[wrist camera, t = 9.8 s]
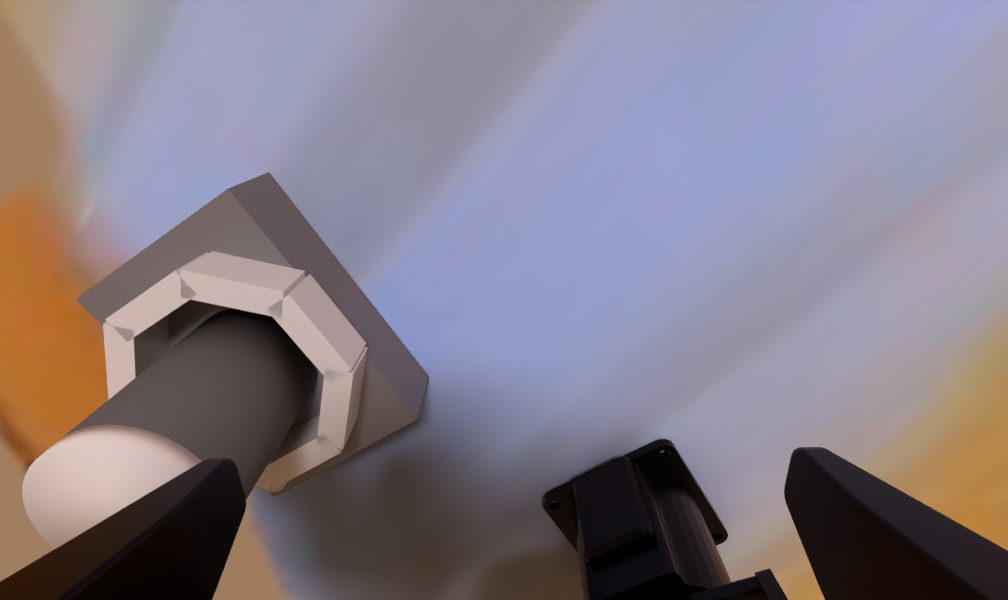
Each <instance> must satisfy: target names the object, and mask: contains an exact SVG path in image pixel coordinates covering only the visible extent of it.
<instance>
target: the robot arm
mask: <svg viewBox="0 0 1008 600" xmlns="http://www.w3.org/2000/svg"><path fill="white" fill-rule="evenodd" d="M663 450H668V451H667V452H666V453H660V452H661V451H663ZM784 494H785V500H786V504H787V507H788V509H789V512H790V514H791V517H792V519H793V522H794V524H795V527H796V529H797V532H798V534H799V537H800V539H801V542H802V544H803V547H804V549H805V552H806V554H807V557H808V559H809V562H810V564H811V567H812V569H813V572H814V574H815V577H816V579H817V582H818V584H819V586H820V589H821V591H822V593H823V596H824V598H825V600H1008V551H1007V550H1006V549H1004V548H1002V547H1000V546H998V545H997V544H995V543H993V542H991V541H990V540H988V539H986V538H984V537H982V536H981V535H979V534H977V533H975V532H973V531H972V530H970V529H968V528H966V527H965V526H963V525H961V524H959V523H957V522H956V521H954V520H952V519H950V518H948V517H947V516H945V515H943V514H941V513H940V512H938V511H936V510H934V509H932V508H931V507H929V506H927V505H925V504H923V503H922V502H920V501H918V500H916V499H914V498H913V497H911V496H909V495H907V494H906V493H904V492H902V491H900V490H898V489H897V488H895V487H893V486H891V485H889V484H888V483H886V482H884V481H882V480H881V479H879V478H877V477H875V476H873V475H872V474H870V473H868V472H866V471H864V470H863V469H861V468H859V467H857V466H856V465H854V464H852V463H850V462H848V461H847V460H845V459H843V458H841V457H839V456H838V455H836V454H834V453H832V452H831V451H829V450H827V449H825V448H822V447H800V448H797V449H795V450H794V451H793V453H792V455H791V459H790V464H789V469H788V473H787V478H786V483H785V489H784ZM553 501H556V502H557V503H551V502H553ZM543 504H544V509H545V510H546V512H547V513H548V514H549V516H550V517H551V518H552V520H553V521H554V522H555V523H556V525H557V526H558V527H559V529H560V530H561V531H562V532H563V534H564V535H565V536H566V538H567V539H568V540H569V542H570V543H571V544H572V545H573V547H574V548H575V549H576V551H577V552H578V555H579V563H580V570H581V578H582V585H583V593H584V600H788V599H787V597H786V595H785V594H784V592H783V590H782V589H781V587H780V585H779V583H778V582H777V580H776V578H775V577H774V575H773V573H772V571H771V570H770V569H766V570H763V571H759V572H756V573H755V576H753V577H749V578H745V579H742V580H738V581H735V582H731V580H730V578H729V576H728V573H727V571H726V569H725V566H724V564H723V562H722V559H721V557H720V555H719V552H718V550H717V548H716V545H718V544H721V543H723V542H724V541H725V540H726V539H727V537H728V534H727V531H726V529H725V527H724V525H723V523H722V522H721V520H720V518H719V517H718V515H717V514H716V512H715V510H714V509H713V507H712V506H711V504H710V502H709V501H708V499H707V497H706V496H705V494H704V493H703V491H702V489H701V488H700V486H699V484H698V483H697V481H696V480H695V478H694V476H693V475H692V473H691V472H690V470H689V468H688V467H687V465H686V463H685V462H684V460H683V459H682V457H681V455H680V454H679V452H678V450H677V449H676V447H675V446H674V444H673V443H672V442H671V441H669V440H666V439H662V440H658V441H656V442H654V443H652V444H650V445H647V446H645V447H643V448H641V449H639V450H637V451H635V452H633V453H630V454H628V455H626V456H624V457H622V458H620V459H618V460H615V461H613V462H611V463H609V464H607V465H605V466H603V467H601V468H598V469H596V470H594V471H592V472H590V473H588V474H586V475H583V476H581V477H579V478H577V479H575V480H573V481H571V482H569V483H566V484H564V485H562V486H560V487H558V488H556V489H554V490H552V491H549V492H548V493H546V494H545V496H544V497H543ZM245 508H246V496H245V492H244V488H243V485H242V481H241V478H240V475H239V471H238V468H237V465H236V463H235V462H234V460H232V459H230V458H210V459H206V460H203V461H202V462H200V463H198V464H197V465H195V466H193V467H192V468H190V469H188V470H187V471H185V472H183V473H181V474H180V475H178V476H176V477H175V478H173V479H171V480H170V481H168V482H166V483H165V484H163V485H161V486H160V487H158V488H156V489H155V490H153V491H151V492H150V493H148V494H146V495H145V496H143V497H141V498H140V499H138V500H136V501H135V502H133V503H131V504H130V505H128V506H126V507H125V508H123V509H121V510H120V511H118V512H116V513H115V514H113V515H111V516H110V517H108V518H106V519H105V520H103V521H101V522H99V523H98V524H96V525H94V526H93V527H91V528H89V529H88V530H86V531H84V532H83V533H81V534H79V535H78V536H76V537H74V538H73V539H71V540H69V541H68V542H66V543H64V544H63V545H61V546H59V547H58V548H56V549H54V550H53V551H51V552H49V553H48V554H46V555H44V556H43V557H41V558H39V559H38V560H36V561H34V562H33V563H31V564H29V565H28V566H26V567H24V568H23V569H21V570H19V571H18V572H16V573H14V574H13V575H11V576H9V577H7V578H6V579H4V580H2V581H1V582H0V600H212V598H213V596H214V593H215V591H216V588H217V586H218V583H219V580H220V577H221V575H222V572H223V570H224V567H225V564H226V561H227V559H228V556H229V553H230V551H231V548H232V545H233V542H234V540H235V537H236V534H237V531H238V529H239V526H240V523H241V521H242V518H243V515H244V512H245ZM716 532H717V533H716ZM714 533H715V534H714Z"/></svg>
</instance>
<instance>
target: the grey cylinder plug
mask: <svg viewBox="0 0 1008 600" xmlns="http://www.w3.org/2000/svg"><path fill="white" fill-rule="evenodd" d="M316 382H317V367H316V366H315V365H314V364H313V363H312V362H311V360H310V359H309V358H308V357H307V356H306V355H305V354H304V352H303V351H302V350H301V349H300V348H299V347H298V346H297V344H296V343H295V342H294V341H293V340H292V339H291V337H290V336H289V335H288V334H287V333H286V332H285V331H284V329H283V328H282V327H281V326H280V325H279V324H278V322H277V321H276V320H275V319H274V318H273V317H272V316H268V315H263V314H258V313H253V312H248V311H244V310H239V309H234V308H231V309H227V310H223V311H220V312H218V313H216V314H214V315H212V316H210V317H209V318H208V319H207V320H205V321H204V322H203V323H202V324H200V325H199V326H198V327H197V328H196V329H194V330H193V331H192V332H191V333H189V334H188V335H187V336H186V337H185V338H183V339H182V340H181V341H180V342H178V343H177V344H176V345H175V346H174V347H172V348H171V349H170V350H169V351H168V352H166V353H165V354H164V355H163V356H161V357H160V358H159V359H158V360H157V361H155V362H154V363H153V364H152V365H150V366H149V367H148V368H147V369H146V370H144V371H143V372H142V373H141V374H140V375H138V376H137V377H136V378H135V379H133V380H132V381H131V382H130V383H129V384H127V385H126V386H125V387H124V388H123V389H121V390H120V391H119V392H118V393H116V394H115V395H114V396H113V397H112V398H110V399H109V400H108V401H107V402H105V403H104V404H103V405H102V406H101V407H99V408H98V409H97V410H96V411H95V412H93V413H92V414H91V415H90V416H88V417H87V418H86V419H85V420H84V421H82V422H81V423H80V424H79V425H77V426H76V427H75V428H74V429H73V430H71V431H70V432H69V433H68V434H67V435H65V436H64V437H63V438H62V439H60V440H59V441H58V442H57V443H56V444H54V445H53V446H52V447H51V448H49V449H48V450H47V451H46V452H45V453H43V454H42V455H41V456H40V457H39V458H37V459H36V460H35V461H34V462H33V464H32V465H31V466H30V467H29V469H28V471H27V473H26V475H25V478H24V481H23V488H22V494H23V503H24V506H25V509H26V512H27V514H28V517H29V519H30V521H31V522H32V524H33V526H34V527H35V528H36V530H37V531H38V533H39V534H40V535H41V536H42V537H43V539H44V540H46V542H47V543H48V544H49V545H51V547H53V548H54V549H56V548H58V547H59V546H61V545H63V544H64V543H66V542H68V541H69V540H71V539H73V538H74V537H76V536H78V535H79V534H81V533H83V532H84V531H86V530H88V529H89V528H91V527H93V526H94V525H96V524H98V523H99V522H101V521H103V520H105V519H106V518H108V517H110V516H111V515H113V514H115V513H116V512H118V511H120V510H121V509H123V508H125V507H126V506H128V505H130V504H131V503H133V502H135V501H136V500H138V499H140V498H141V497H143V496H145V495H146V494H148V493H150V492H151V491H153V490H155V489H156V488H158V487H160V486H161V485H163V484H165V483H166V482H168V481H170V480H171V479H173V478H175V477H176V476H178V475H180V474H181V473H183V472H185V471H187V470H188V469H190V468H192V467H193V466H195V465H197V464H198V463H200V462H202V461H203V460H206V459H210V458H230V459H232V460H234V462H235V463H236V465H237V468H238V471H239V475H240V478H241V481H242V485H243V488H244V492H245V496H246V499H247V497H248V495H249V494H250V492H251V491H252V489H253V487H254V486H255V484H256V483H257V481H258V479H259V478H260V476H261V475H262V473H263V471H264V470H265V468H266V467H267V465H268V463H269V462H270V460H271V459H272V457H273V455H274V454H275V452H276V450H277V449H278V447H279V446H280V444H281V442H282V441H283V439H284V438H285V436H286V434H287V433H288V431H289V430H290V428H291V426H292V425H293V423H294V422H295V420H296V418H297V417H298V415H299V413H300V412H301V410H302V409H303V407H304V405H305V404H306V402H307V401H308V399H309V397H310V396H311V394H312V392H313V390H314V388H315V385H316Z"/></svg>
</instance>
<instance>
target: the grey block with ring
mask: <svg viewBox="0 0 1008 600" xmlns="http://www.w3.org/2000/svg"><path fill="white" fill-rule="evenodd" d="M76 300H77V301H78V302H79V303H80V304H81V305H82V306H83V307H84V308H85V309H86V310H87V311H88V312H89V313H90V314H91V315H92V316H94V317H95V318H96V319H97V320H98V321H99V322H100V323H101V324H102V325H103V330H104V343H105V357H106V371H107V384H108V398H109V399H110V398H112V397H113V396H114V395H115V394H116V393H118V392H119V391H120V390H121V389H123V388H124V387H125V386H126V385H127V384H129V383H130V382H131V381H132V380H133V379H135V378H136V377H137V376H138V375H140V374H141V373H142V372H143V371H144V370H146V369H147V368H148V367H149V366H150V365H152V364H153V363H154V362H155V361H157V360H158V359H159V358H160V357H161V356H163V355H164V354H165V353H166V352H168V351H169V350H170V349H171V348H172V347H174V346H175V345H176V344H177V343H178V342H180V341H181V340H182V339H183V338H185V337H186V336H187V335H188V334H189V333H191V332H192V331H193V330H194V329H196V328H197V327H198V326H199V325H200V324H202V323H203V322H204V321H205V320H207V319H208V318H209V317H210V316H212V315H214V314H216V313H218V312H220V311H223V310H227V309H231V308H234V309H239V310H244V311H248V312H253V313H258V314H263V315H268V316H272V317H273V318H274V319H275V320H276V321H277V322H278V324H279V325H280V326H281V327H282V328H283V329H284V331H285V332H286V333H287V334H288V335H289V336H290V337H291V339H292V340H293V341H294V342H295V343H296V344H297V346H298V347H299V348H300V349H301V350H302V351H303V352H304V354H305V355H306V356H307V357H308V358H309V359H310V360H311V362H312V363H313V364H314V365H315V366H316V367H317V382H316V385H315V388H314V390H313V392H312V394H311V396H310V397H309V399H308V401H307V402H306V404H305V405H304V407H303V409H302V410H301V412H300V413H299V415H298V417H297V418H296V420H295V422H294V423H293V425H292V426H291V428H290V430H289V431H288V433H287V434H286V436H285V438H284V439H283V441H282V442H281V444H280V446H279V447H278V449H277V450H276V452H275V454H274V455H273V457H272V459H271V460H270V462H269V463H268V465H267V467H266V468H265V470H264V471H263V473H262V475H261V476H260V478H259V479H258V481H257V483H256V484H255V486H254V487H259V488H261V489H263V490H265V491H269V492H271V493H272V494H273V495H274V496H276V495H278V494H280V493H282V492H283V491H285V490H287V489H289V488H291V487H293V486H295V485H296V484H298V483H300V482H302V481H304V480H306V479H308V478H310V477H311V476H313V475H315V474H317V473H319V472H321V471H323V470H324V469H326V468H328V467H330V466H332V465H334V464H336V463H337V462H339V461H341V460H343V459H345V458H347V457H349V456H350V455H352V454H354V453H356V452H358V451H360V450H362V449H364V448H365V447H367V446H369V445H371V444H373V443H375V442H377V441H378V440H380V439H382V438H384V437H386V436H388V435H390V434H391V433H393V432H395V431H397V430H399V429H401V428H403V427H404V426H406V425H408V424H410V423H412V422H414V421H416V420H417V419H418V415H419V412H420V408H421V405H422V401H423V397H424V394H425V390H426V387H427V383H428V380H429V376H428V375H427V374H426V372H425V371H424V370H423V369H422V367H421V366H420V365H419V363H418V362H417V361H416V360H415V358H414V357H413V356H412V355H411V353H410V352H409V351H408V349H407V348H406V347H405V346H404V344H403V343H402V342H401V340H400V339H399V338H398V337H397V335H396V334H395V333H394V332H393V330H392V329H391V328H390V326H389V325H388V324H387V323H386V321H385V320H384V319H383V318H382V316H381V315H380V314H379V312H378V311H377V310H376V309H375V307H374V306H373V305H372V303H371V302H370V301H369V300H368V298H367V297H366V296H365V295H364V293H363V292H362V291H361V289H360V288H359V287H358V286H357V284H356V283H355V282H354V280H353V279H352V278H351V277H350V275H349V274H348V273H347V272H346V270H345V269H344V268H343V266H342V265H341V264H340V263H339V261H338V260H337V259H336V257H335V256H334V255H333V254H332V252H331V251H330V250H329V249H328V247H327V246H326V245H325V243H324V242H323V241H322V240H321V238H320V237H319V236H318V234H317V233H316V232H315V231H314V229H313V228H312V227H311V226H310V224H309V223H308V222H307V220H306V219H305V218H304V217H303V215H302V214H301V213H300V211H299V210H298V209H297V208H296V206H295V205H294V204H293V203H292V201H291V200H290V199H289V197H288V196H287V195H286V194H285V192H284V191H283V190H282V188H281V187H280V186H279V185H278V183H277V182H276V181H275V180H274V178H273V177H272V176H271V174H270V173H266V174H264V175H261V176H259V177H256V178H254V179H251V180H249V181H246V182H244V183H241V184H239V185H236V186H234V187H231V188H229V189H227V190H226V191H224V192H223V193H221V194H220V195H219V196H217V197H216V198H214V199H213V200H212V201H210V202H209V203H208V204H206V205H205V206H203V207H202V208H201V209H199V210H198V211H197V212H195V213H194V214H192V215H191V216H190V217H188V218H187V219H185V220H184V221H183V222H181V223H180V224H179V225H177V226H176V227H174V228H173V229H172V230H170V231H169V232H168V233H166V234H165V235H163V236H162V237H161V238H159V239H158V240H157V241H155V242H154V243H152V244H151V245H150V246H148V247H147V248H145V249H144V250H143V251H141V252H140V253H139V254H137V255H136V256H134V257H133V258H132V259H130V260H129V261H128V262H126V263H125V264H123V265H122V266H121V267H119V268H118V269H116V270H115V271H114V272H112V273H111V274H110V275H108V276H107V277H105V278H104V279H103V280H101V281H100V282H99V283H97V284H96V285H94V286H93V287H92V288H90V289H89V290H87V291H86V292H85V293H83V294H82V295H81V296H79V297H78V298H76Z"/></svg>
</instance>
